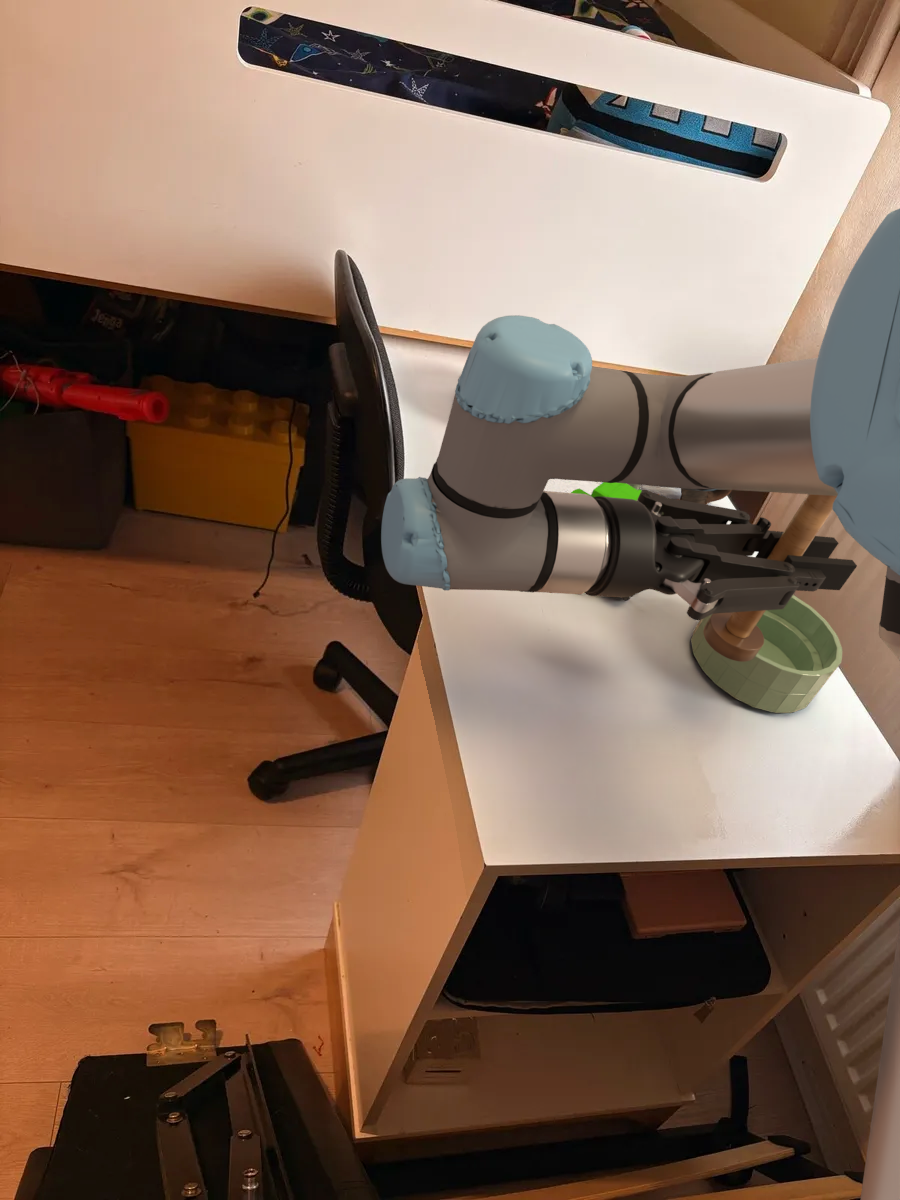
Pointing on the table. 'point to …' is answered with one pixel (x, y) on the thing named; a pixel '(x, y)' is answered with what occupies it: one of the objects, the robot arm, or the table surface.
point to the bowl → (777, 660)
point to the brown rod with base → (739, 629)
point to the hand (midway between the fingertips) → (836, 563)
